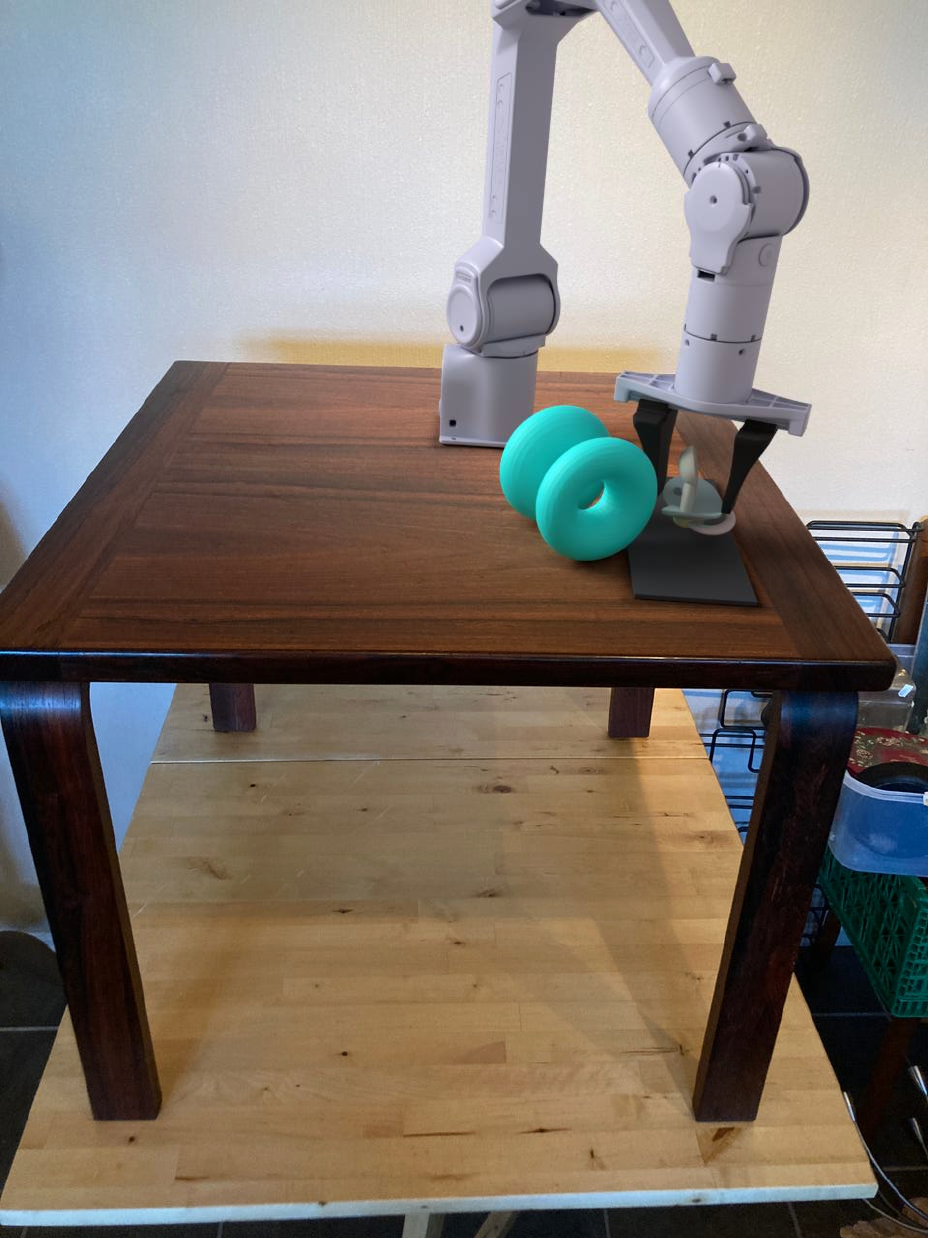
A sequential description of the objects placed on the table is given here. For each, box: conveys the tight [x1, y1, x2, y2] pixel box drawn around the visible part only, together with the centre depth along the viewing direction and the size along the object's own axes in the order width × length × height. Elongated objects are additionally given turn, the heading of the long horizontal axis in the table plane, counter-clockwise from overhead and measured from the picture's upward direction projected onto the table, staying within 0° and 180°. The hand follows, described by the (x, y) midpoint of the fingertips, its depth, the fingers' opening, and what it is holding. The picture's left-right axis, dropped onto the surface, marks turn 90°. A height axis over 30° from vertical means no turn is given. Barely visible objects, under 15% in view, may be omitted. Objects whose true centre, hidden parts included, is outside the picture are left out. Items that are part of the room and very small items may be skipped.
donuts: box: [499, 404, 657, 562], centre depth 77 cm, size 10×10×10 cm
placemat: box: [625, 476, 758, 607], centre depth 81 cm, size 9×22×1 cm, turn 176°
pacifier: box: [661, 444, 737, 535], centre depth 77 cm, size 7×6×6 cm
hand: (692, 500), depth 78 cm, fingers closed on pacifier, 5 cm apart
